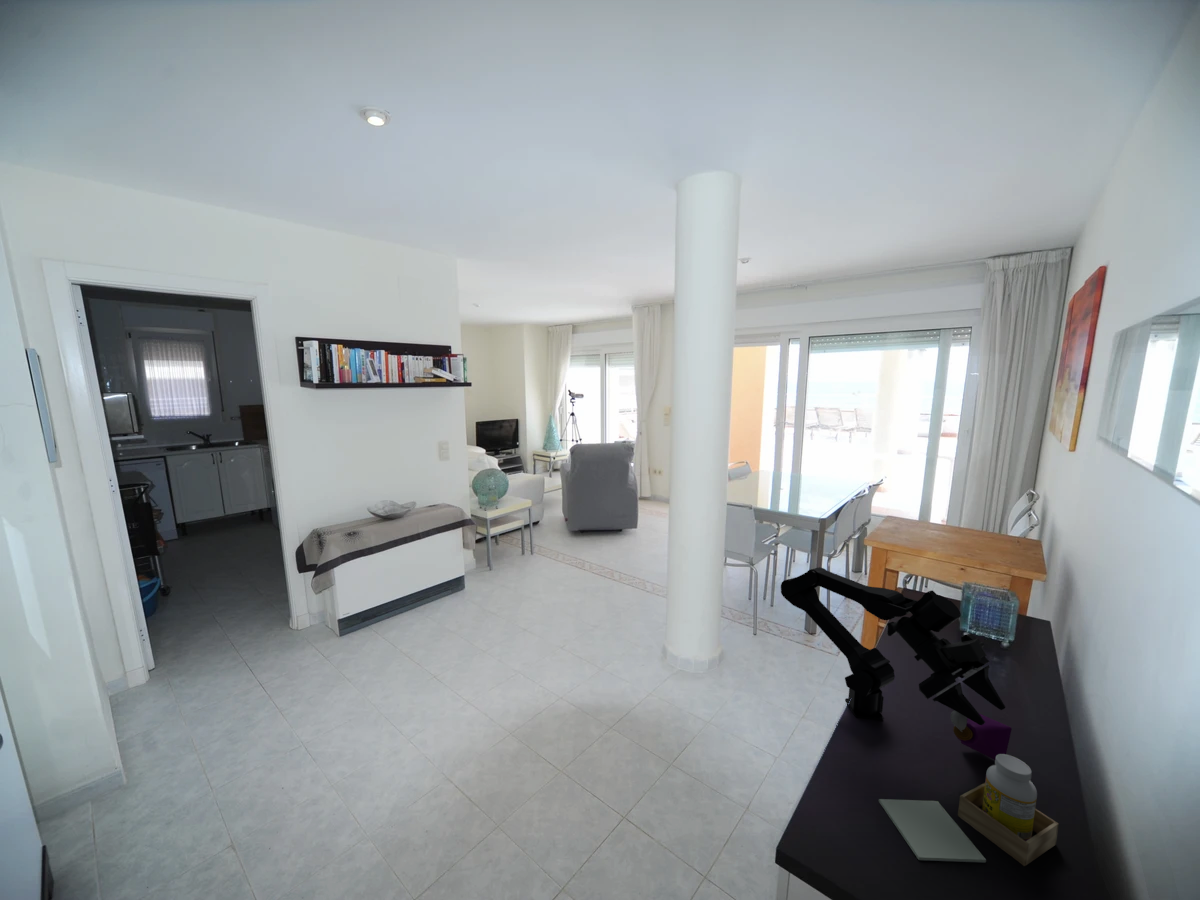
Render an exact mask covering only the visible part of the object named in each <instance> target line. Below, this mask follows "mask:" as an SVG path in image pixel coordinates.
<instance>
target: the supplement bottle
mask: <svg viewBox="0 0 1200 900" xmlns="http://www.w3.org/2000/svg"><path fill="white" fill-rule="evenodd" d="M1032 773H1033V772H1032V769H1031V767H1030V766H1029V765H1028V764H1026V762H1024V761H1023V760H1021V759H1019V758H1018V757H1016V756H1012V755H1011V754H1007V753H1006V754H998V755H997V756H996V759H995V760H994V764H993V765H990V766H989V767H988V768H987V770H986V774H985V782H984V783H985V789H984V797H983V805H982V806H981V810H983V811H984V812H985V813H987V814H988V815H990V816H991V817H992V818H994V819H995V820H997V821H998V822H999V823H1001V824H1002V825H1004V826H1005V827H1006V828H1008V829H1009V830H1011V831H1012V832H1013V833H1015V834H1016V835H1018V836H1019V837H1020V838H1022V839H1023V840H1025V841H1027V840H1029V839H1030V838H1032V837H1033V822H1034V815H1035V809H1036V806H1037V800H1038V799H1037V798H1038V791H1037V788H1036V786H1035V784H1033V782H1032V780H1031V779H1032V775H1033V774H1032Z"/></svg>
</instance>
